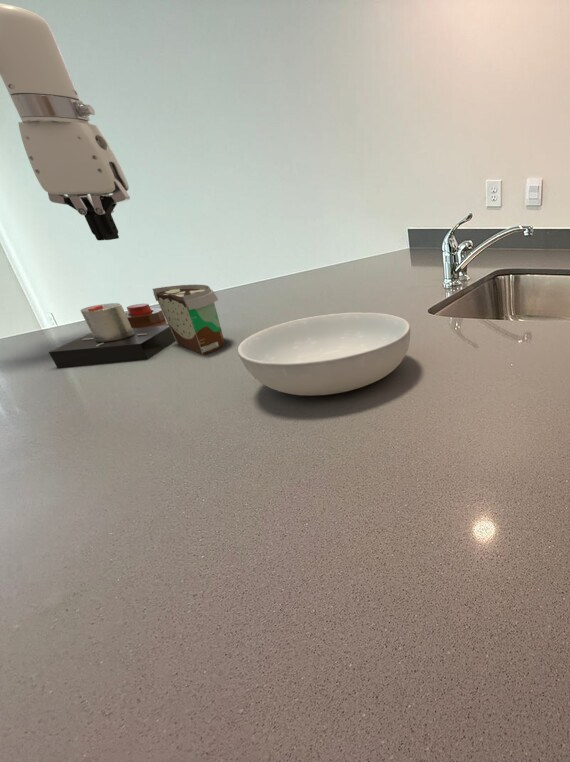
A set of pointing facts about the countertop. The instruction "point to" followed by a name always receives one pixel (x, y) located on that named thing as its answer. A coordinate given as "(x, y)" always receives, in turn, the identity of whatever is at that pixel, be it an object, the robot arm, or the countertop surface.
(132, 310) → the button
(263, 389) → the countertop surface
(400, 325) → the serving bowl
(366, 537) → the countertop surface
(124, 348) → the stove panel
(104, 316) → the stove knob
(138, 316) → the igniter
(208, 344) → the food container
